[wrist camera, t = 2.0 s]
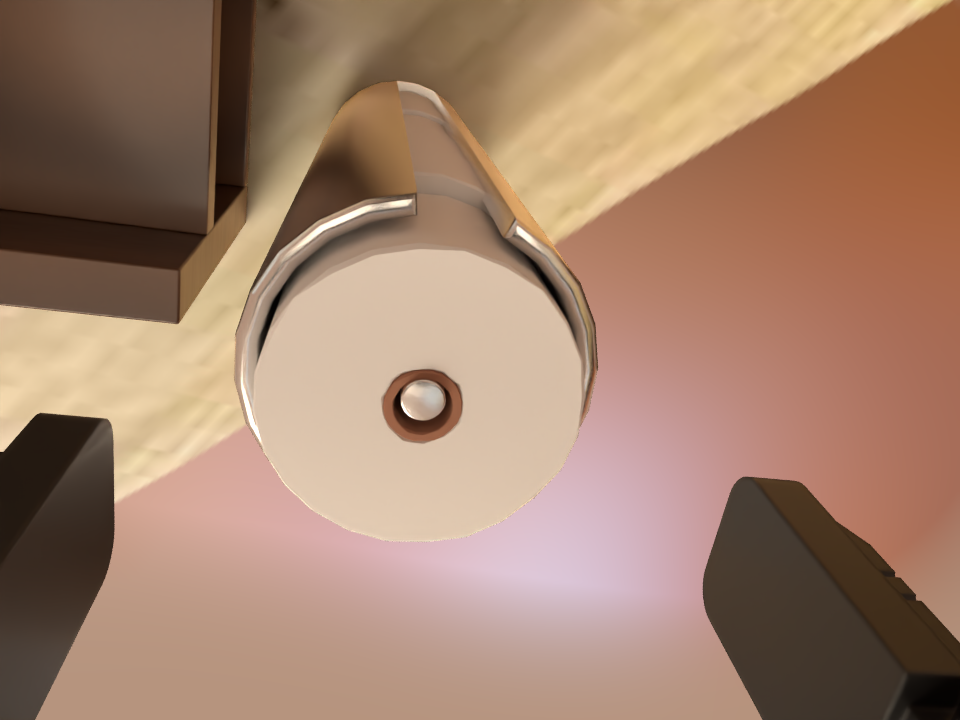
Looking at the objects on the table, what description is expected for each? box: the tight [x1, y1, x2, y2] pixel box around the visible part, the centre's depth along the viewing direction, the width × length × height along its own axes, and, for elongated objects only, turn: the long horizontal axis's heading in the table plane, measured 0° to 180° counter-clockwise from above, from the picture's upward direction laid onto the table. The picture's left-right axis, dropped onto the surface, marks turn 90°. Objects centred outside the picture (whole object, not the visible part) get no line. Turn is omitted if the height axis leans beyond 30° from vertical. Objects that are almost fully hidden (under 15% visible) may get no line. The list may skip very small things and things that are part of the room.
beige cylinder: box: [234, 81, 598, 542], centre depth 25 cm, size 6×6×25 cm
